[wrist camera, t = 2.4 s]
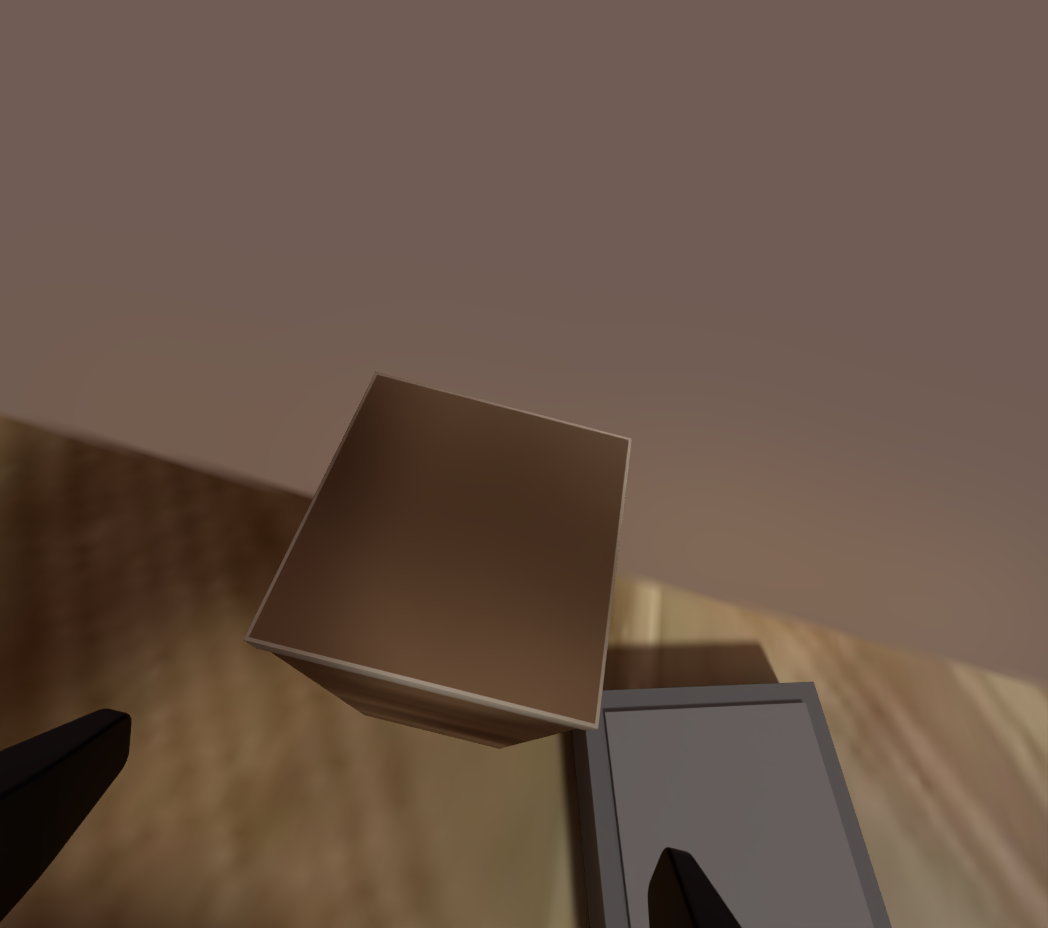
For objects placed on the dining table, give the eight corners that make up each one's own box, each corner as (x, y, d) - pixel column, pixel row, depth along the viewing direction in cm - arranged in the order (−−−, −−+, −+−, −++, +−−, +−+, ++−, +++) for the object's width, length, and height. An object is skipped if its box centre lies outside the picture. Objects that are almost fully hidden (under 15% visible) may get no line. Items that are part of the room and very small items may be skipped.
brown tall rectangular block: (500, 750, 18) (598, 728, 7) (362, 716, 18) (243, 640, 7) (528, 611, 21) (631, 439, 10) (408, 581, 21) (375, 372, 10)
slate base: (870, 993, 16) (925, 1022, 14) (599, 1034, 15) (622, 1072, 13) (782, 688, 21) (815, 681, 19) (569, 697, 19) (583, 690, 17)
